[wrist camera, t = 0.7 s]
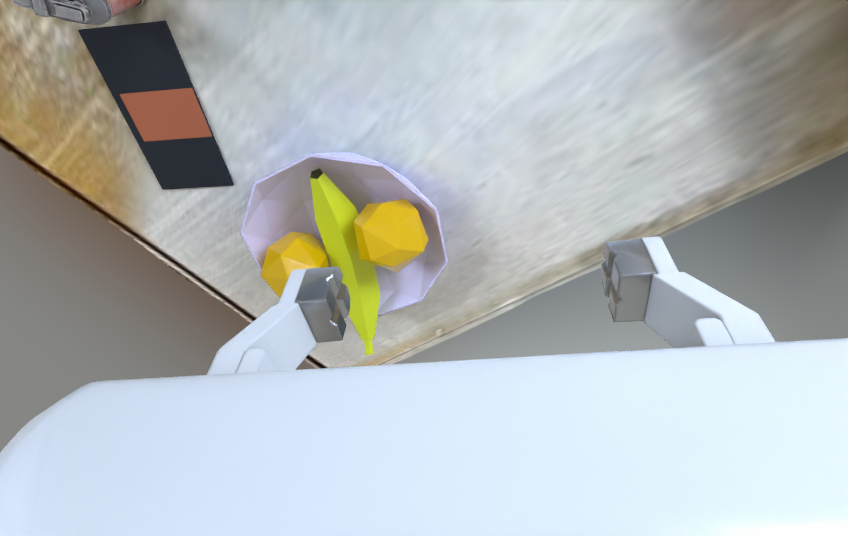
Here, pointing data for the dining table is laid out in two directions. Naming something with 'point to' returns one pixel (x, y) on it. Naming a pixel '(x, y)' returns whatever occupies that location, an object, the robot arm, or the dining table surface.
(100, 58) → the mat
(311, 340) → the robot arm
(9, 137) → the dining table surface
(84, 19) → the lighter
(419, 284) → the fruit bowl
